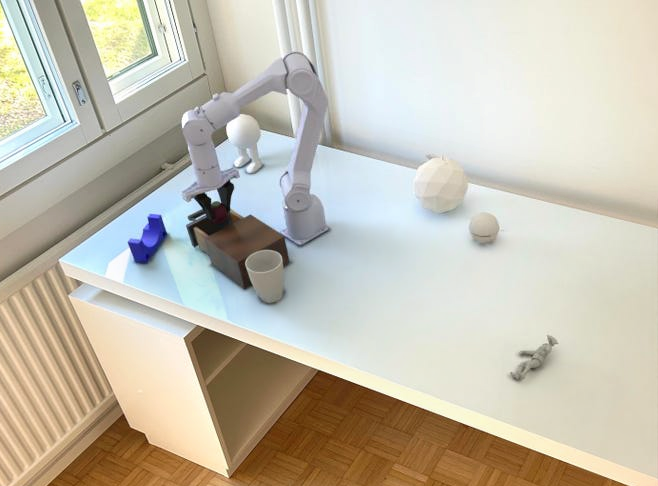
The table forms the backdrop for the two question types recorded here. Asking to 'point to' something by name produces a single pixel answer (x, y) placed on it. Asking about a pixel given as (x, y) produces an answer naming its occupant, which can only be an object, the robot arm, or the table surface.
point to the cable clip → (148, 239)
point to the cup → (266, 274)
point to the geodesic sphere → (440, 184)
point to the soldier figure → (535, 357)
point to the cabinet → (243, 247)
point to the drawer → (207, 227)
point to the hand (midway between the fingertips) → (218, 214)
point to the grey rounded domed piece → (484, 227)
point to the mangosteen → (219, 212)
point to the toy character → (245, 140)
